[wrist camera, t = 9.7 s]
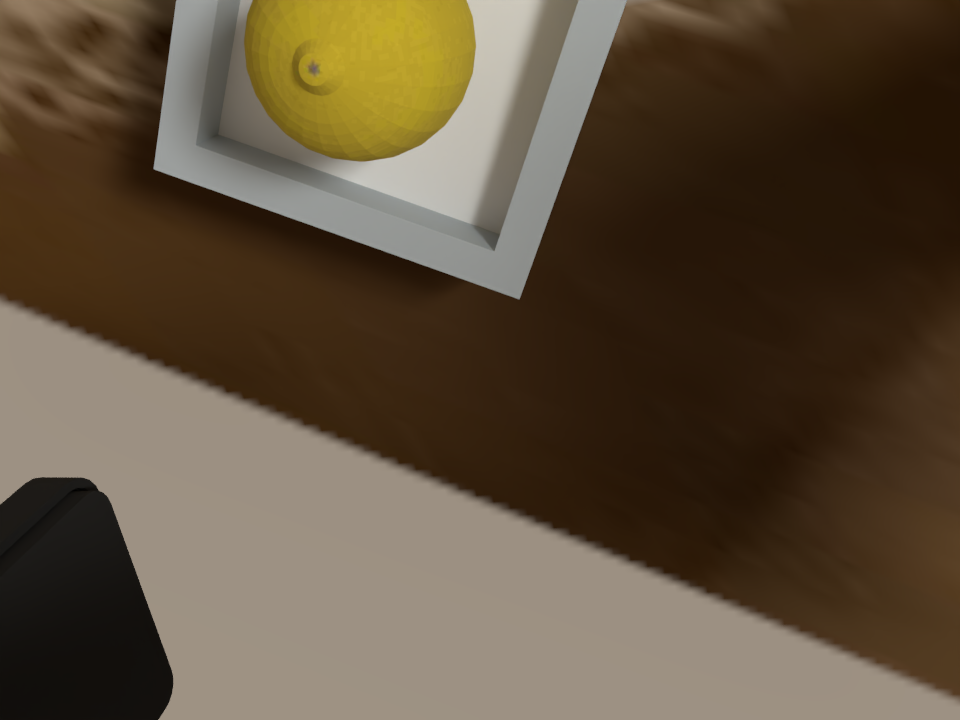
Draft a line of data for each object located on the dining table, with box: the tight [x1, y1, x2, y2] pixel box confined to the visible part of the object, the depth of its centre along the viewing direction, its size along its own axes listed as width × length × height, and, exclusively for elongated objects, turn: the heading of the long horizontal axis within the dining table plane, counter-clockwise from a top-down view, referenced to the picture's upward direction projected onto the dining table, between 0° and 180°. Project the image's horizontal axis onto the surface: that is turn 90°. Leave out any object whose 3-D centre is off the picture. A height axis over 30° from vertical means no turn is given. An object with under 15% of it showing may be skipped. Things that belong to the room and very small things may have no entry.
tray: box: [154, 0, 627, 299], centre depth 28 cm, size 12×12×6 cm
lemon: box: [244, 0, 476, 162], centre depth 23 cm, size 6×6×8 cm
